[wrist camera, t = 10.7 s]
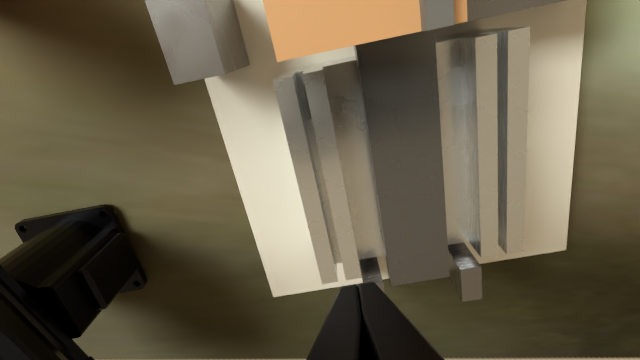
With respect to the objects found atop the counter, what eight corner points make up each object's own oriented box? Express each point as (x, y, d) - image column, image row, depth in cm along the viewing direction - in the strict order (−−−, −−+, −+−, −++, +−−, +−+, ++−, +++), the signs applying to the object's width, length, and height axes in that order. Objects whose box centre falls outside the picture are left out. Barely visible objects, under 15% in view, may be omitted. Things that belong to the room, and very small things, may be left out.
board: (276, 282, 24) (273, 297, 23) (191, 5, 18) (180, 2, 16) (551, 237, 23) (566, 249, 22) (571, -83, 16) (594, -94, 15)
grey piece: (275, 278, 22) (263, 339, 18) (191, 4, 16) (141, -10, 12) (550, 232, 21) (615, 286, 17) (570, -83, 15) (681, -137, 10)
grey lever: (388, 276, 19) (390, 286, 18) (340, -47, 13) (341, -51, 12) (444, 266, 18) (449, 276, 18) (422, -66, 12) (428, -72, 12)
